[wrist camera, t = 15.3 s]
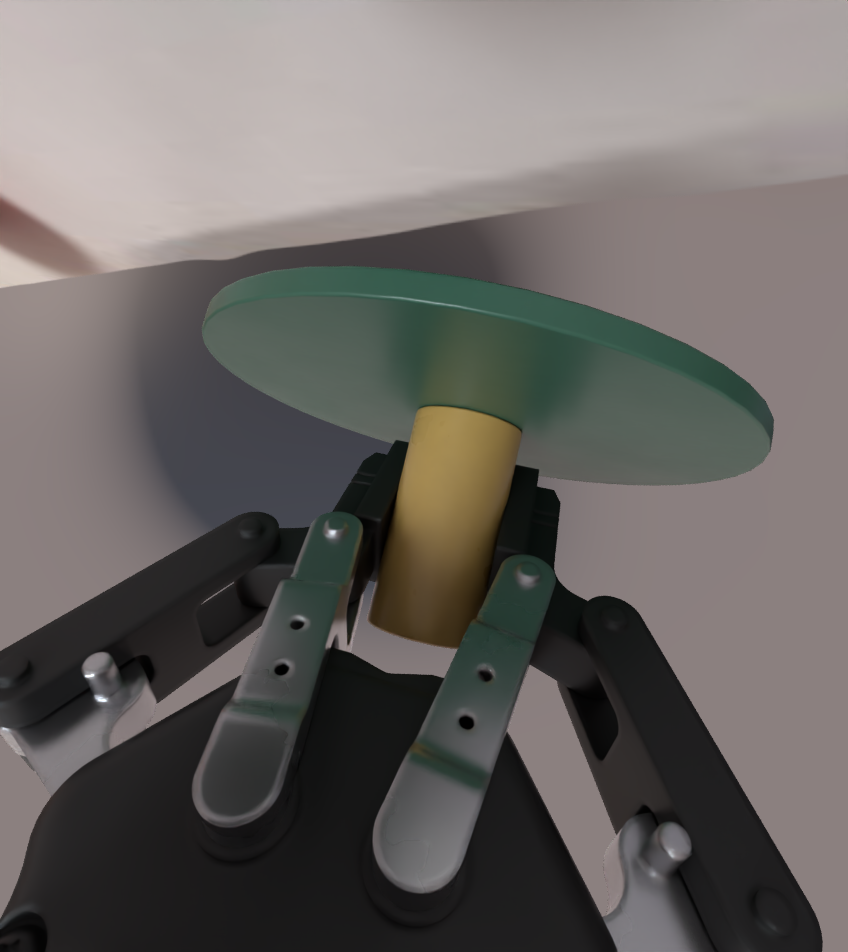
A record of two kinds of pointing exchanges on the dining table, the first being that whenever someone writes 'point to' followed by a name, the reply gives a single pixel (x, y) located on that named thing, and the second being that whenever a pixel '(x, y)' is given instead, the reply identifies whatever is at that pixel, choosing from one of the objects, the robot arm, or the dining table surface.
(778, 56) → the dining table surface
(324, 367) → the tin lid
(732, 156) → the dining table surface
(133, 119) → the dining table surface
